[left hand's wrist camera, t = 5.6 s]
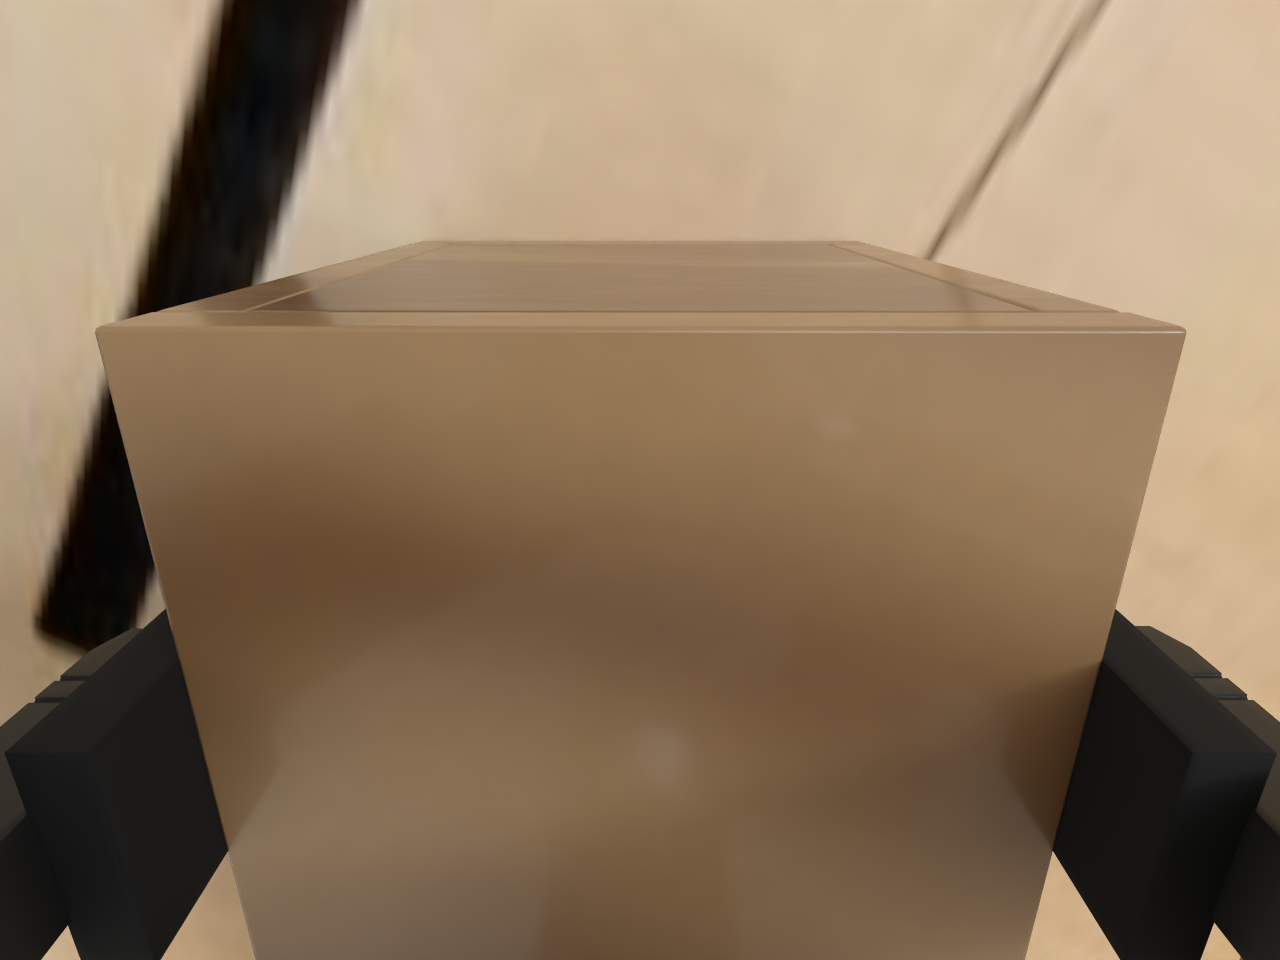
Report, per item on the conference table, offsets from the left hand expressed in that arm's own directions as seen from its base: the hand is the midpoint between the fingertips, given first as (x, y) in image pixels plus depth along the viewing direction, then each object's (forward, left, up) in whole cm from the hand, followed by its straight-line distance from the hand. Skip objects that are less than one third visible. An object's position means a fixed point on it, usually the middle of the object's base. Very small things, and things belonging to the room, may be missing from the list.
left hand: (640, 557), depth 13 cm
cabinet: (+5, -2, -6) cm, 8 cm away
